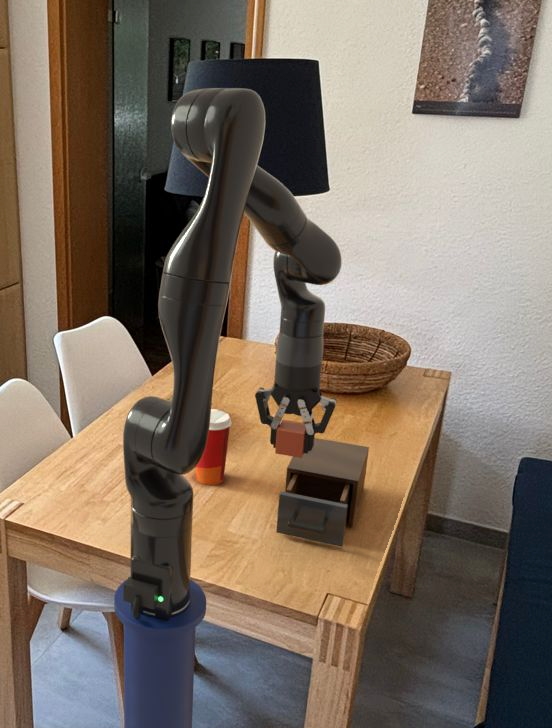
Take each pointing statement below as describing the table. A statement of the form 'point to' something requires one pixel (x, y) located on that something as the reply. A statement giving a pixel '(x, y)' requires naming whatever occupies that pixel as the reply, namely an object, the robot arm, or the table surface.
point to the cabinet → (334, 468)
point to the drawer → (314, 509)
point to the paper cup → (214, 450)
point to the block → (290, 438)
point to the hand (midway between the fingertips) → (291, 448)
